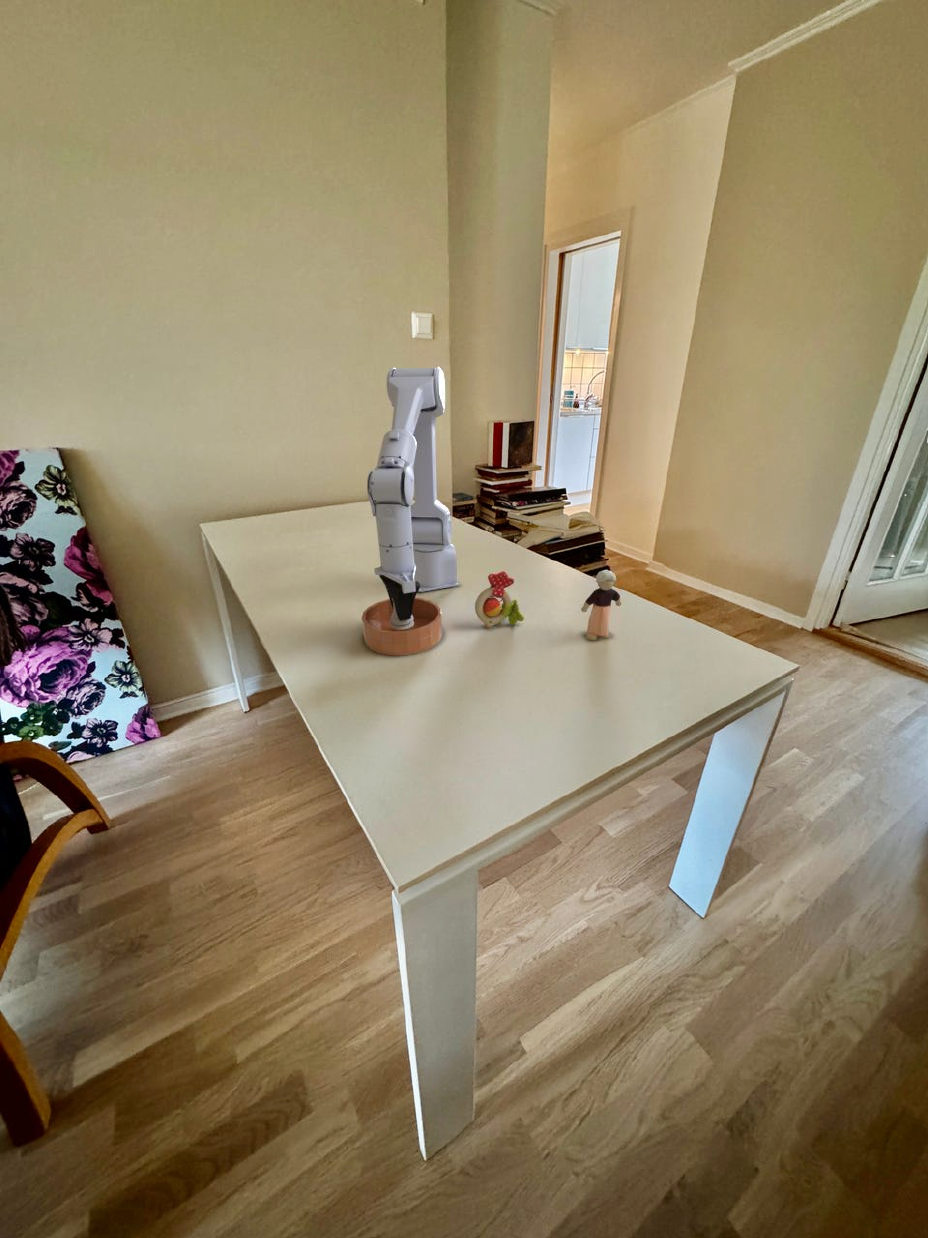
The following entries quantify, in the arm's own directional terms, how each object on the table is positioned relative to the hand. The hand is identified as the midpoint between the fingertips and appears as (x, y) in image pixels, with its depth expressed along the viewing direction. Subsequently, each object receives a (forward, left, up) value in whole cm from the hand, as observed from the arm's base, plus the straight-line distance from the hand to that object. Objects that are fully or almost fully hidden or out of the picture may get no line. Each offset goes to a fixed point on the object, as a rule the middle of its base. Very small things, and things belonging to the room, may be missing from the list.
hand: (401, 614), depth 87 cm
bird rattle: (-18, +3, -5) cm, 19 cm away
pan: (0, 0, -4) cm, 4 cm away
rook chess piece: (0, 0, -3) cm, 3 cm away
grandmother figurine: (-33, +14, -5) cm, 36 cm away
